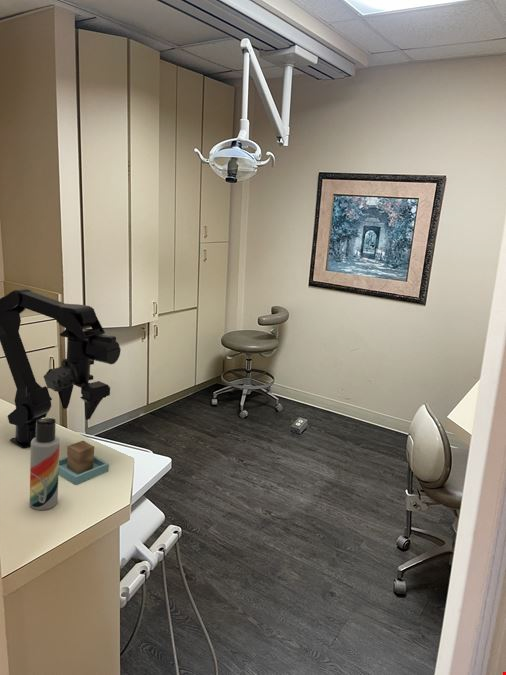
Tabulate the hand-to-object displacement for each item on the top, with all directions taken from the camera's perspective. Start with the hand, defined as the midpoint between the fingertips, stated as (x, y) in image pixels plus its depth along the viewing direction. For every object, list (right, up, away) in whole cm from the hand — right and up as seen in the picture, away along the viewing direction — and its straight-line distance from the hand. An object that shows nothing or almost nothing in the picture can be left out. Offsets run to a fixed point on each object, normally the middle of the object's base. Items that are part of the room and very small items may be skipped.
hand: (76, 413), depth 129 cm
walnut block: (+2, -13, -4) cm, 14 cm away
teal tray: (+2, -14, -4) cm, 14 cm away
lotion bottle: (-1, -17, -19) cm, 25 cm away
